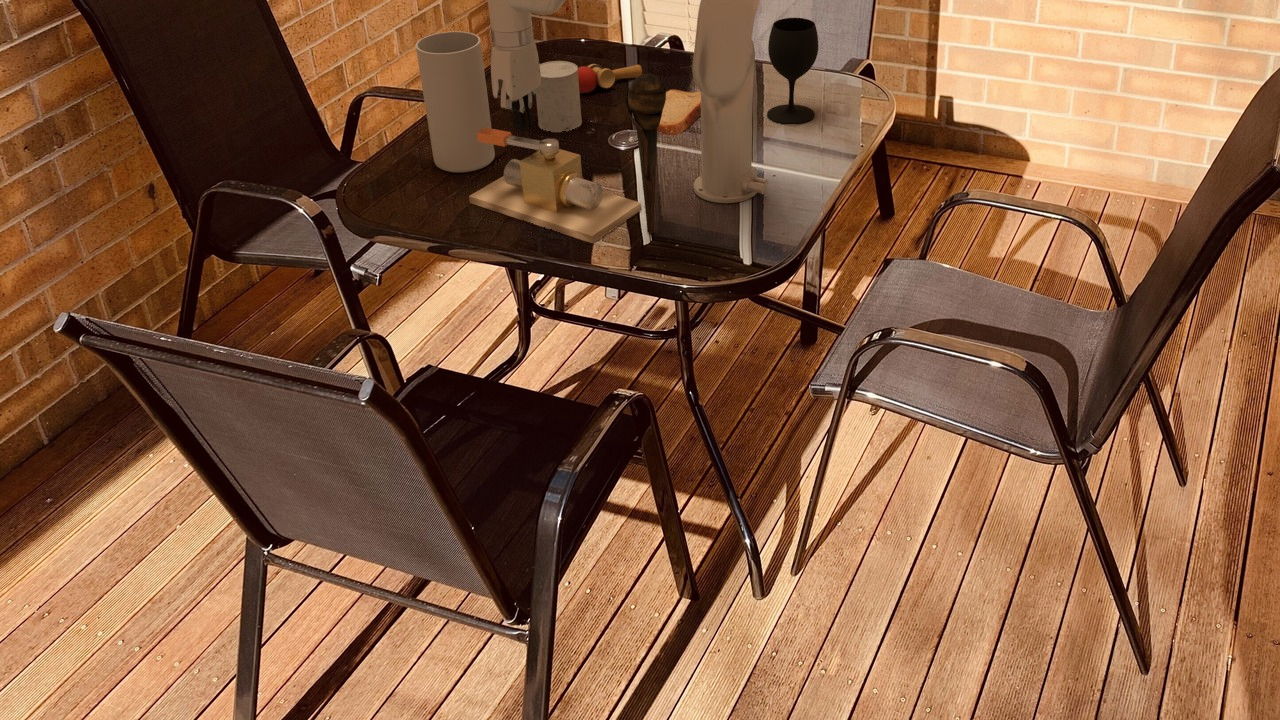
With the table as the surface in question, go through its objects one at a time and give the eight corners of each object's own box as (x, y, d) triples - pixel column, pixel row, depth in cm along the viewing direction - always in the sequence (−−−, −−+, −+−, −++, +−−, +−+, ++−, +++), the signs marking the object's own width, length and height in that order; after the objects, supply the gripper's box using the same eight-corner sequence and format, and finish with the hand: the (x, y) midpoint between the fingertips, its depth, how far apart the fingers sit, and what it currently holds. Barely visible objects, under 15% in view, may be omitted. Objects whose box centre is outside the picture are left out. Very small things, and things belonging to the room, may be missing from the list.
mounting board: (641, 209, 214) (641, 202, 213) (592, 243, 204) (592, 236, 203) (520, 173, 229) (520, 166, 228) (469, 202, 219) (468, 196, 218)
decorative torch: (631, 226, 208) (622, 68, 191) (668, 223, 209) (663, 65, 192) (634, 244, 203) (626, 83, 186) (672, 241, 203) (668, 80, 186)
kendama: (627, 76, 273) (562, 85, 264) (631, 52, 269) (566, 59, 260) (644, 91, 268) (579, 100, 259) (649, 67, 264) (583, 75, 255)
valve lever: (562, 149, 210) (562, 140, 209) (552, 157, 208) (551, 148, 207) (487, 135, 217) (486, 126, 216) (476, 142, 214) (475, 133, 213)
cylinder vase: (461, 179, 227) (444, 58, 213) (422, 163, 234) (402, 45, 220) (507, 158, 235) (493, 39, 220) (468, 142, 242) (451, 27, 227)
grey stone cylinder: (576, 133, 244) (571, 78, 237) (533, 131, 245) (527, 76, 238) (586, 115, 251) (582, 61, 244) (544, 113, 253) (539, 60, 246)
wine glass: (824, 116, 245) (829, 25, 234) (788, 129, 241) (791, 36, 229) (793, 102, 252) (796, 12, 241) (756, 114, 248) (758, 23, 236)
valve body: (608, 203, 213) (605, 157, 207) (582, 221, 208) (578, 173, 202) (527, 179, 223) (522, 134, 217) (500, 195, 218) (494, 149, 212)
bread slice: (665, 139, 240) (664, 122, 238) (626, 111, 253) (625, 95, 251) (737, 120, 247) (737, 104, 244) (695, 93, 260) (695, 78, 258)
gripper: (519, 20, 216) (530, 111, 227) (471, 46, 206) (484, 140, 217) (552, 25, 213) (561, 117, 224) (505, 51, 203) (516, 146, 213)
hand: (523, 128), depth 220 cm, fingers closed
